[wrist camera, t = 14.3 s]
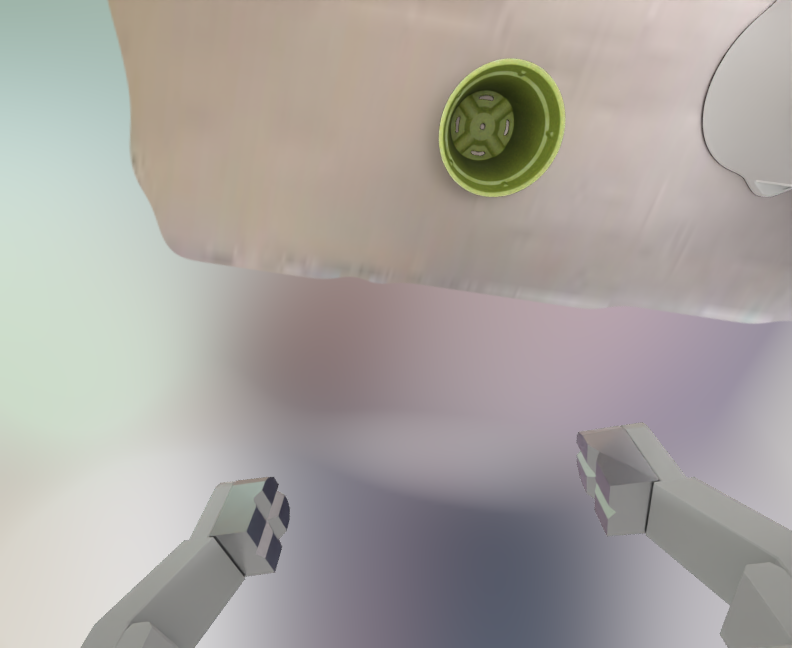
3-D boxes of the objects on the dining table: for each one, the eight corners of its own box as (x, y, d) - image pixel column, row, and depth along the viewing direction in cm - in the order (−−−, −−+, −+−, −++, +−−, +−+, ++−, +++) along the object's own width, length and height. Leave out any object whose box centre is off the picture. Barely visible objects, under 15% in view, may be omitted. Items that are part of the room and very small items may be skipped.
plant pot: (521, 180, 39) (549, 199, 31) (428, 177, 39) (434, 195, 31) (541, 70, 34) (580, 60, 27) (435, 67, 34) (444, 56, 27)
